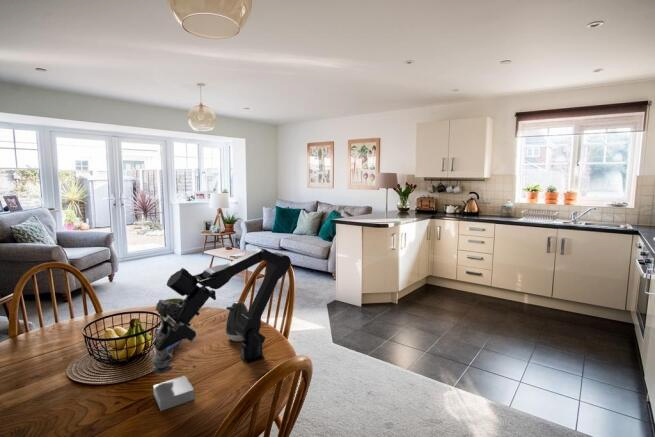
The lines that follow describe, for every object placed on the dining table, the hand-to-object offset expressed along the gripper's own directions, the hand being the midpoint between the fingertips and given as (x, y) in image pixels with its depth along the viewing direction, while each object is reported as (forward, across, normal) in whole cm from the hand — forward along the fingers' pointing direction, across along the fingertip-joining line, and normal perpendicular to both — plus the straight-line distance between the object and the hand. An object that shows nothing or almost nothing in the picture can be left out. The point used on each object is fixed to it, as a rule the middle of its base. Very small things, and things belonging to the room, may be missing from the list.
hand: (156, 347), depth 107 cm
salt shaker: (+4, 0, +6) cm, 8 cm away
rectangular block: (+8, +7, +11) cm, 15 cm away
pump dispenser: (-14, -17, +34) cm, 40 cm away
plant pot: (-2, -43, +21) cm, 48 cm away
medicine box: (+2, -27, +17) cm, 32 cm away
